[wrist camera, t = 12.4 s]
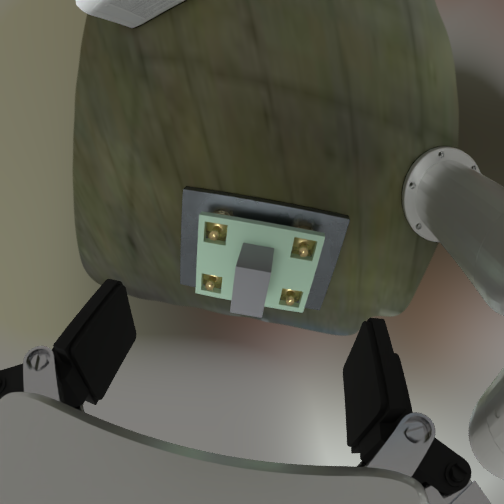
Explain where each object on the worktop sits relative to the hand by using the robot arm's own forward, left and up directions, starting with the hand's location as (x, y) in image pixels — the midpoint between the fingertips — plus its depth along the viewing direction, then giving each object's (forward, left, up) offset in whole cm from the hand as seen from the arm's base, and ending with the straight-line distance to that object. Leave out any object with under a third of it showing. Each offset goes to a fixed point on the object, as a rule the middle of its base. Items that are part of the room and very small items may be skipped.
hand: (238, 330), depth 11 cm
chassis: (0, +11, -25) cm, 27 cm away
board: (0, +11, -22) cm, 24 cm away
